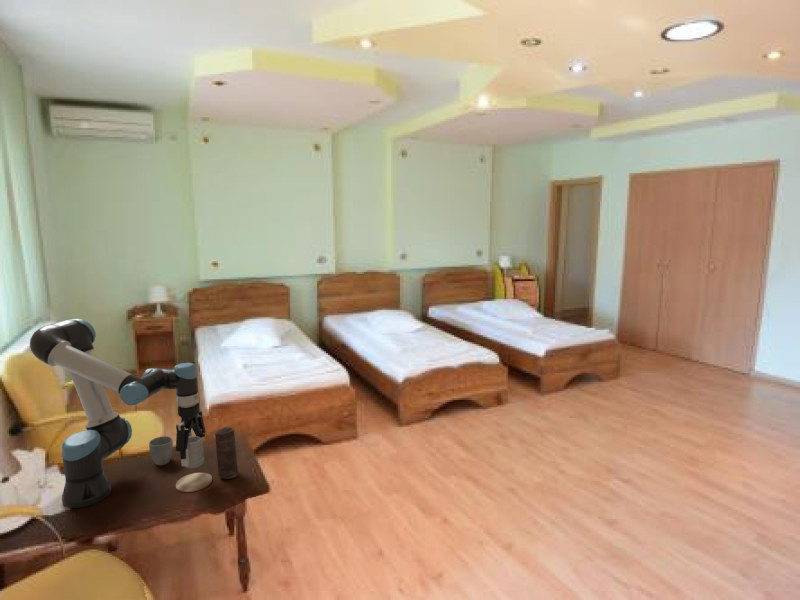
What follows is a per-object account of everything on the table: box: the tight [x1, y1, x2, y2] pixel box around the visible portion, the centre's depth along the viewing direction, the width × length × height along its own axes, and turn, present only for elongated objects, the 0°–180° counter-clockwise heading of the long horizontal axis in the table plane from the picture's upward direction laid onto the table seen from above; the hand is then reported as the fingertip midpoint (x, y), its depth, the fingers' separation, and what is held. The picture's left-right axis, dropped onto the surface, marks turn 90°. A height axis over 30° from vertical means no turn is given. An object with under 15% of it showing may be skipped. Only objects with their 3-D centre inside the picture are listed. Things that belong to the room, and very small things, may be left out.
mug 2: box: [184, 429, 205, 469], centre depth 184 cm, size 8×12×12 cm, turn 32°
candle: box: [214, 426, 239, 479], centre depth 189 cm, size 8×7×20 cm
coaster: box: [175, 472, 213, 493], centre depth 186 cm, size 13×13×1 cm
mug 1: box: [148, 435, 174, 466], centre depth 202 cm, size 12×9×10 cm
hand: (192, 459), depth 184 cm, fingers closed on mug 2, 9 cm apart
